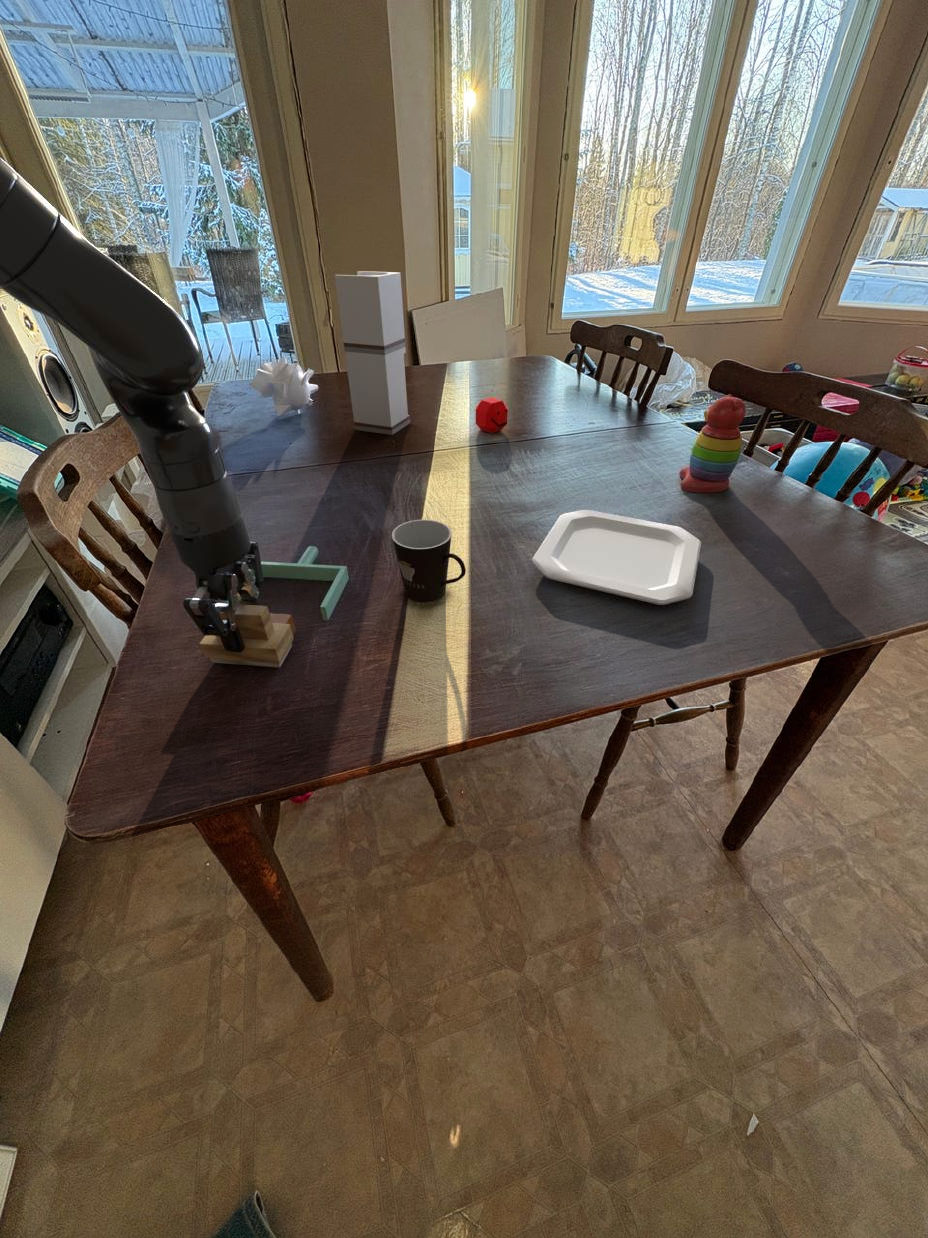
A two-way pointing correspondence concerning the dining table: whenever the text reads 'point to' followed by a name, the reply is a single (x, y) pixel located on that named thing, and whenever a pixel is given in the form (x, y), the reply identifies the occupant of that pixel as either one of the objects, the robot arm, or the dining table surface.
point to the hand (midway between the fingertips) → (246, 635)
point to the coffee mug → (424, 558)
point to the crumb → (283, 620)
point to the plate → (621, 556)
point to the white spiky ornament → (284, 385)
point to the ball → (491, 415)
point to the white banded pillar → (374, 349)
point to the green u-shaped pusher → (310, 576)
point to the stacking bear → (715, 448)
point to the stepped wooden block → (252, 639)
